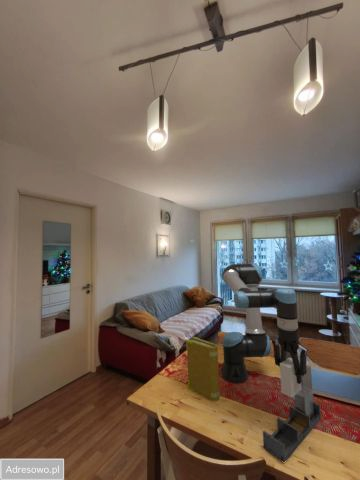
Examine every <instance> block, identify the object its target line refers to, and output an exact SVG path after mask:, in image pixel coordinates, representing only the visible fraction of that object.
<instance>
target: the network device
mask: <svg viewBox="0 0 360 480" xmlns="http://www.w3.org/2000/svg"><path fill="white" fill-rule="evenodd" d="M297 353H298V359H299V362H300V352H299V349H298V350H297ZM289 357H290V358H292V357H291V355H290V353H289V352H287V356H286V359H288V358H289ZM306 370H307V373H306V374H305V375H304V376H302V375H301V377H302V382H301V386H303V385H304V386H306V387H308V388H310V389H313V383H312V382H313V381H312V367H311V364H310V362H309V361H308V359H307V358H306ZM292 400H293V402H295V395H294V396H293V397H292Z"/></svg>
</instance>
